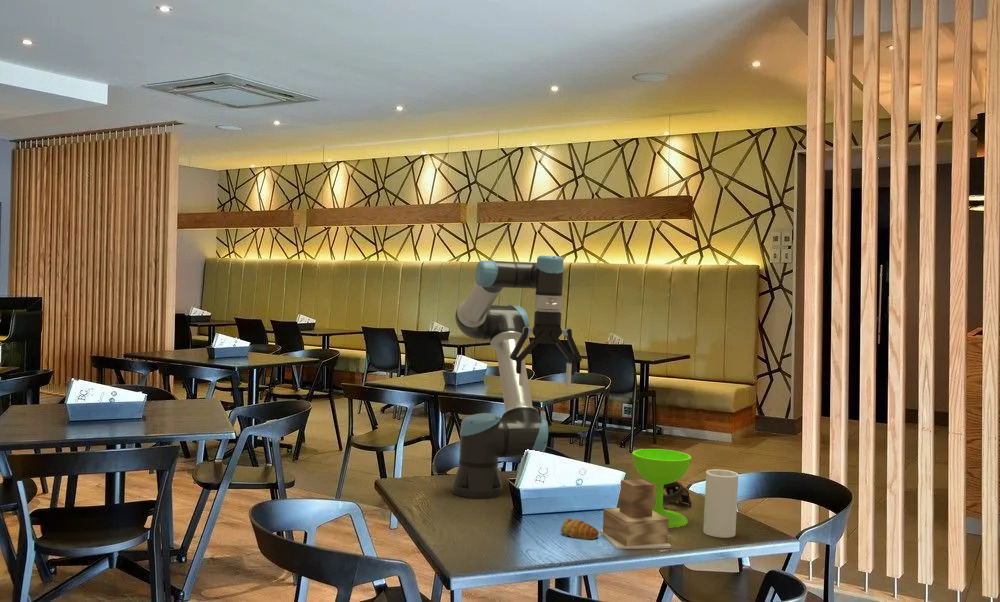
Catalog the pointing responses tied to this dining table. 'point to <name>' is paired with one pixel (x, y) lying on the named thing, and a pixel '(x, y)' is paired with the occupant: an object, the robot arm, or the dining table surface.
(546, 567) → the dining table surface
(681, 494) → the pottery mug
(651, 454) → the wineglass
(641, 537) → the cover
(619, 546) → the tile
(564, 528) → the pastry
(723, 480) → the cup
